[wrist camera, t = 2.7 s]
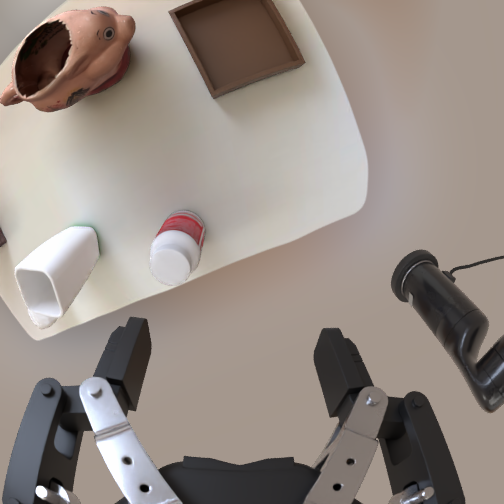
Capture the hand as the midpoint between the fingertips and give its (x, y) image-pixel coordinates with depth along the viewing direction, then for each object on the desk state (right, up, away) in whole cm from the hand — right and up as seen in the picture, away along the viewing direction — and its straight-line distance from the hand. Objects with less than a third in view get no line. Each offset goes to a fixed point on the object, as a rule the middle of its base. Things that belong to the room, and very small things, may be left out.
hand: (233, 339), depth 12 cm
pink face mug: (-22, +30, +15) cm, 40 cm away
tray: (-1, +32, +15) cm, 35 cm away
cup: (-26, +6, +26) cm, 38 cm away
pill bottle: (-9, +7, +27) cm, 29 cm away
